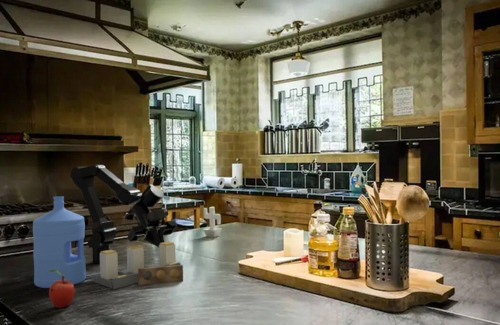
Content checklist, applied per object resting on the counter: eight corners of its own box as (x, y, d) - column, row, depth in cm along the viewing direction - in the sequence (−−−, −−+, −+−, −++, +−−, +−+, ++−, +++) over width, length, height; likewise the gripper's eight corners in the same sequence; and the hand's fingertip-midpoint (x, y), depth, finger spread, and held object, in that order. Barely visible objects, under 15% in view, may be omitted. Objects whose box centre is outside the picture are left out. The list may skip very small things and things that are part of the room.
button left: (100, 277, 137) (99, 251, 137) (111, 275, 140) (110, 249, 140) (106, 280, 135) (106, 253, 135) (117, 277, 138) (117, 250, 138)
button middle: (127, 271, 145) (126, 246, 145) (137, 269, 148) (136, 244, 148) (134, 273, 142) (133, 247, 142) (144, 270, 145) (143, 245, 145)
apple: (80, 301, 119) (79, 266, 119) (70, 310, 112) (69, 272, 112) (52, 302, 119) (51, 267, 118) (41, 311, 112) (40, 273, 112)
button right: (159, 267, 149) (159, 243, 149) (168, 265, 152) (168, 241, 152) (166, 269, 147) (166, 244, 147) (175, 266, 150) (175, 242, 150)
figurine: (217, 237, 212) (216, 208, 212) (201, 236, 216) (200, 207, 216) (224, 235, 219) (223, 206, 219) (208, 234, 223) (207, 205, 223)
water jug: (29, 291, 130) (26, 200, 130) (39, 277, 145) (37, 196, 145) (83, 286, 134) (81, 197, 134) (88, 273, 149) (86, 194, 149)
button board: (93, 281, 138) (93, 271, 138) (159, 265, 158) (158, 257, 158) (114, 289, 130) (113, 278, 130) (180, 271, 150) (180, 261, 150)
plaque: (138, 285, 134) (138, 269, 134) (138, 283, 135) (138, 268, 135) (183, 281, 137) (182, 265, 137) (182, 280, 138) (182, 264, 138)
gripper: (131, 203, 148) (150, 238, 140) (173, 198, 162) (193, 230, 154) (119, 224, 153) (137, 259, 146) (161, 218, 167) (180, 249, 160)
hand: (163, 248), depth 151 cm, fingers closed, pressing on button right
